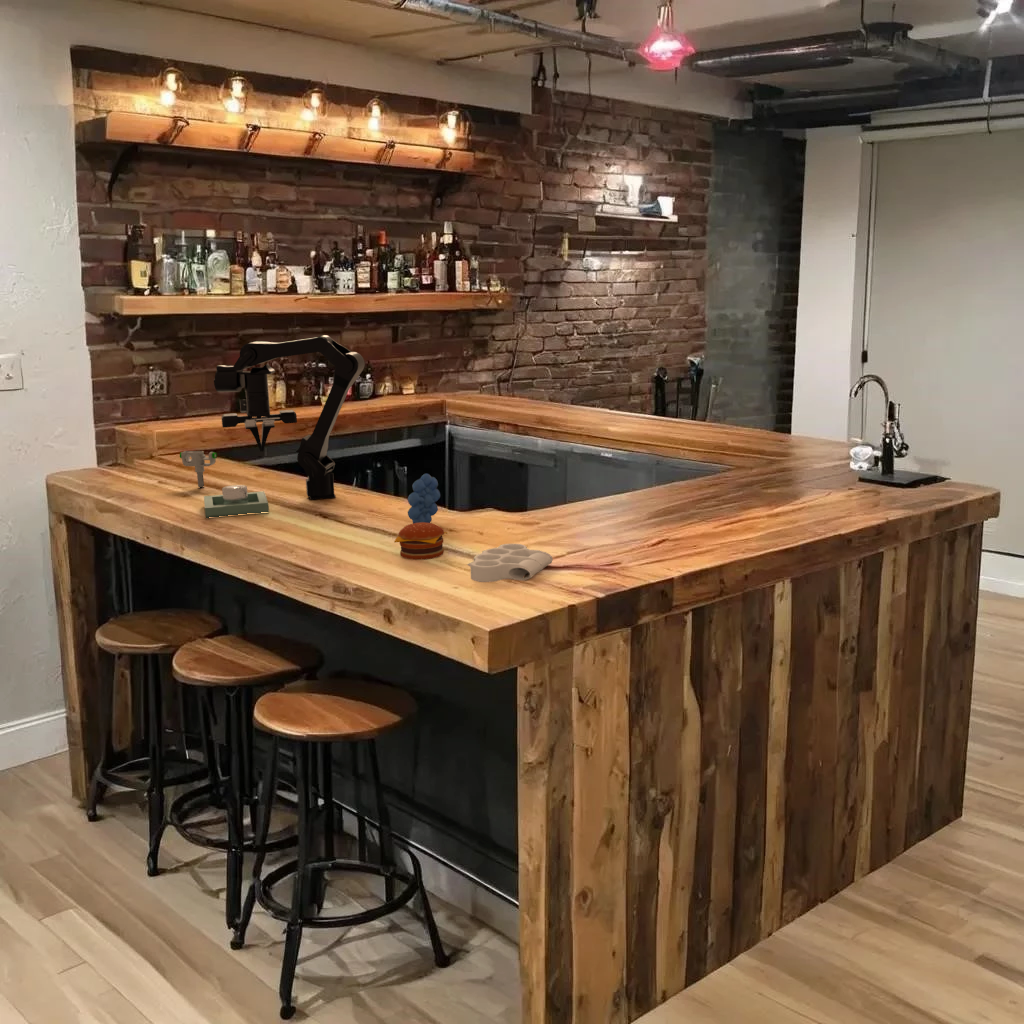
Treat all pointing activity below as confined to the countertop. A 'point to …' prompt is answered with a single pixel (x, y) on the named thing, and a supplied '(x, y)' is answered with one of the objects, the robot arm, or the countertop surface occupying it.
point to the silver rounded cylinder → (235, 494)
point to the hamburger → (421, 541)
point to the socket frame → (235, 505)
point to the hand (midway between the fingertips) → (261, 451)
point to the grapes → (423, 499)
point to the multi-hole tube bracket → (508, 563)
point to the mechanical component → (198, 462)
